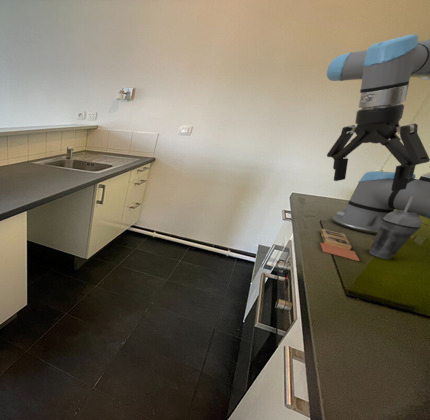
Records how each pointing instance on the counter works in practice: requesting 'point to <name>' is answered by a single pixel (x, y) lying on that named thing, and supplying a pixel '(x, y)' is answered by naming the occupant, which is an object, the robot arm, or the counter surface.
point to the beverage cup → (395, 232)
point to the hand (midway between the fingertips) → (366, 184)
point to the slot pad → (339, 251)
